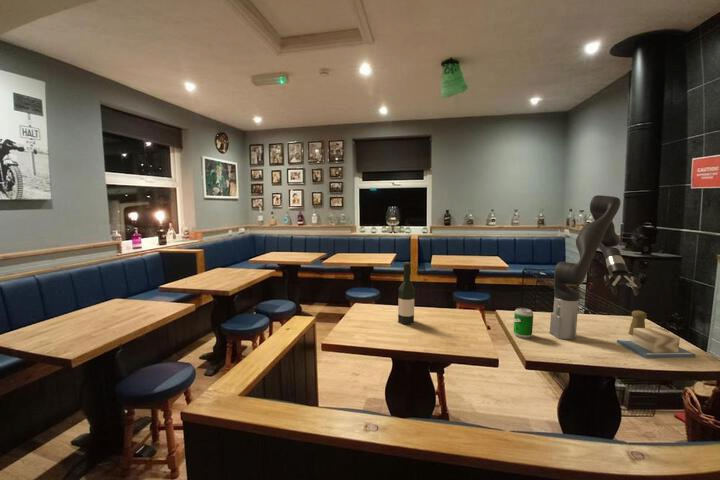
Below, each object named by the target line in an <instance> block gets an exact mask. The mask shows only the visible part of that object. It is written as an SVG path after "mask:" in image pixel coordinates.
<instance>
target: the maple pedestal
mask: <svg viewBox="0 0 720 480" xmlns="http://www.w3.org/2000/svg"><path fill="white" fill-rule="evenodd" d="M631 340H632V342H634V343H636V344H638V345H640V346H641V347H643V348H645V349H647V350H649V351H651V352H653V353H659V352H678V350H679V347H680V342H681V341H680V340H681V338H680V337H679V336H677V335H675V334H674V333H673V334H672V333H670V332H668V331H665V330H663V329H660V328H657V327H645V328H634V329H633V336H632V339H631Z"/></svg>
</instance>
